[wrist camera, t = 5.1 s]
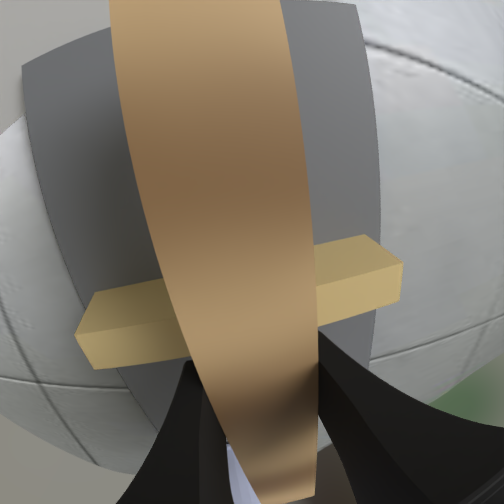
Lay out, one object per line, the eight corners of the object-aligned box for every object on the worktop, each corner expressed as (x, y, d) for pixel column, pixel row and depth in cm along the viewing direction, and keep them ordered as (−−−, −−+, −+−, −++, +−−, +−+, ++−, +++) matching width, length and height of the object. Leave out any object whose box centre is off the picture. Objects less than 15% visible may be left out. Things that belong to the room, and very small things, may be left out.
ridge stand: (358, 387, 22) (382, 427, 18) (166, 432, 20) (166, 478, 16) (346, 10, 11) (395, -18, 7) (31, 68, 9) (-21, 55, 5)
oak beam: (296, 445, 16) (314, 495, 12) (251, 456, 16) (263, 508, 12) (238, 11, 7) (266, -54, 3) (140, 27, 7) (107, -29, 3)
